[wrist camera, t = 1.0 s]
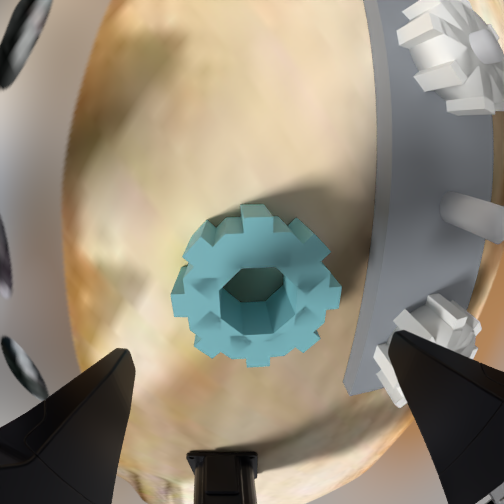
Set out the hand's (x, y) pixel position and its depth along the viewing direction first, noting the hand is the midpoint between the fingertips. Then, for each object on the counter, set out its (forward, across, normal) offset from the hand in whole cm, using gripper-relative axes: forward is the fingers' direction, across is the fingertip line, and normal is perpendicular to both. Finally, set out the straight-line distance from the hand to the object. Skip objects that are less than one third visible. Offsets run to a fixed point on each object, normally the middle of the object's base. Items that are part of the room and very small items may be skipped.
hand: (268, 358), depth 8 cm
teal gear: (+6, 0, 0) cm, 6 cm away
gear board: (+6, -11, -4) cm, 13 cm away
